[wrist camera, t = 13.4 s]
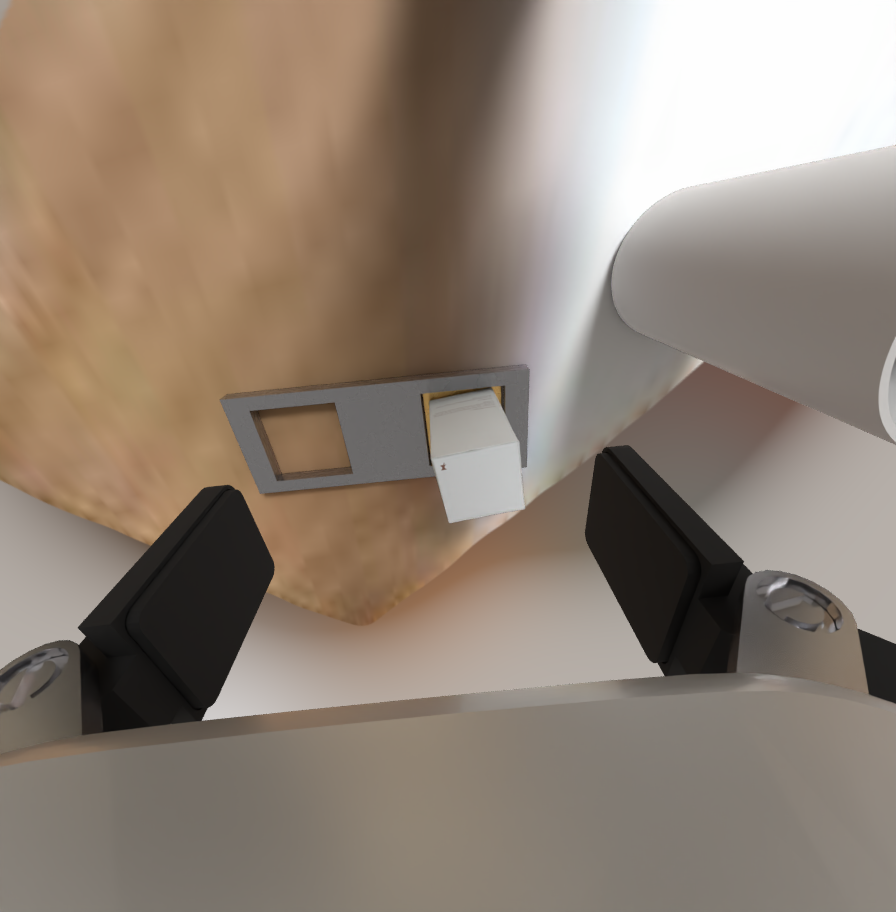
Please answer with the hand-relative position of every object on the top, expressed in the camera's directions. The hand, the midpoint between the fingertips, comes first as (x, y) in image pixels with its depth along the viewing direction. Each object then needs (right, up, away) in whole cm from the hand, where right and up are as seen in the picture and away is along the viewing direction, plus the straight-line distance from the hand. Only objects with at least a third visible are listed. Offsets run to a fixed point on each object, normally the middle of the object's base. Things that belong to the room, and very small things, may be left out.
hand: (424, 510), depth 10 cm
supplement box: (+3, +5, +32) cm, 33 cm away
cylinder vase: (+22, +20, +25) cm, 39 cm away
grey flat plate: (-7, +5, +32) cm, 33 cm away
